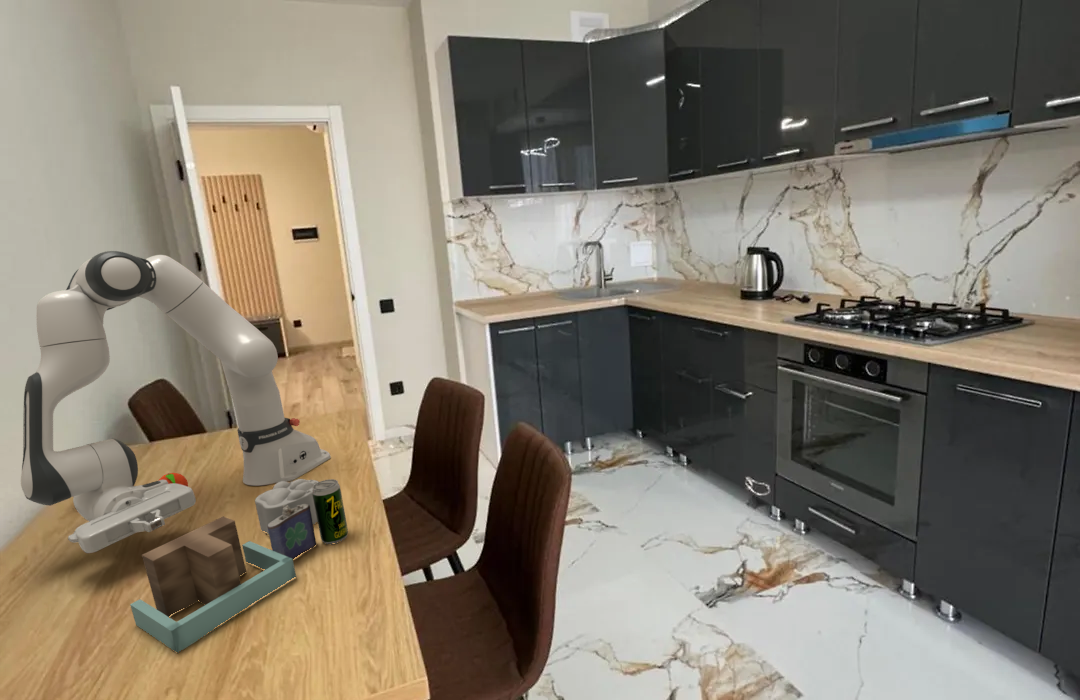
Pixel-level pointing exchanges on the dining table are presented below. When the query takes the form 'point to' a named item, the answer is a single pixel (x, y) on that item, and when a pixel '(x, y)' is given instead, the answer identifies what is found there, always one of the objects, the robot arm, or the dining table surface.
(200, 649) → the dining table surface
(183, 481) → the clementine
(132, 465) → the robot arm
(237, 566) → the t block
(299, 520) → the flask
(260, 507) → the grey bumpy block
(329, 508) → the beer can
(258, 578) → the fence
